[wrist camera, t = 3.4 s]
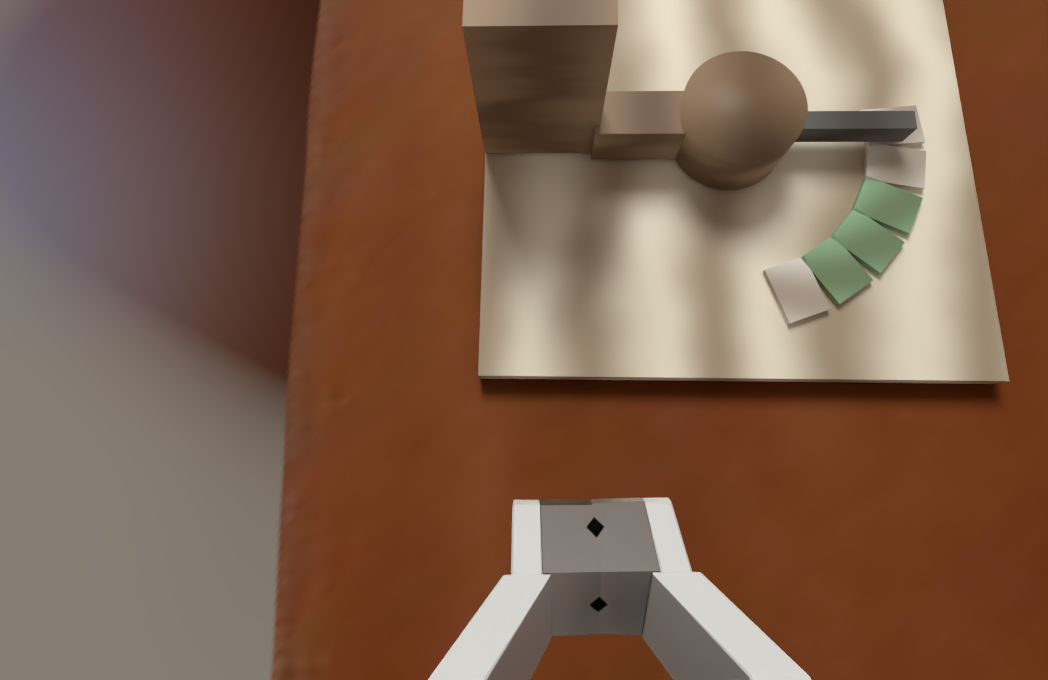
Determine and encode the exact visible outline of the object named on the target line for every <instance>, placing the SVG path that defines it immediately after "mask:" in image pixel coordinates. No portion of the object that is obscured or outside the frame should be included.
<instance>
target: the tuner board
mask: <svg viewBox="0 0 1048 680" xmlns="http://www.w3.org/2000/svg"><path fill="white" fill-rule="evenodd" d="M734 51H749V52H756V53H760V54H763V55H766V56H769V57H771V58H773V59H775V60H777V61H779V62H780V63H782V64H783V65H785V66H786V67H787V68H788V69H789V70H791V71H792V73H793V74H794V75H795V76H796V77H797V79H798V80H799V81H800V83H801V85H802V87H803V89H804V91H805V94H806V98H807V103H808V111H915V116H916V123H917V129H916V130H915V131H914V132H913V133H912V134H910V135H909V136H908V137H907V138H906V139H905V140H904V141H903V142H794V143H793V145H792V146H791V147H790V148H789V150H788V151H787V152H786V154H785V155H784V156H783V157H782V159H781V160H780V161H779V162H778V164H777V165H776V166H775V167H774V169H773V170H772V171H771V172H770V173H769V174H768V175H767V176H766V177H765V178H764V179H763V180H761V181H759V182H758V183H756V184H754V185H752V186H749V187H746V188H742V189H737V190H720V189H715V188H711V187H708V186H705V185H703V184H701V183H699V182H697V181H695V180H694V179H692V178H691V177H690V176H688V175H687V174H686V173H685V172H684V171H683V170H682V169H681V168H680V166H679V165H678V164H677V162H676V160H675V159H591V153H486V156H485V187H484V217H483V247H482V278H481V308H480V338H479V368H478V376H479V377H480V379H573V380H668V381H762V382H856V383H951V384H995V383H1001V382H1007V381H1009V377H1008V371H1007V366H1006V360H1005V354H1004V348H1003V343H1002V337H1001V331H1000V326H999V320H998V314H997V308H996V303H995V297H994V291H993V286H992V280H991V274H990V268H989V263H988V257H987V251H986V245H985V240H984V234H983V228H982V223H981V217H980V211H979V205H978V200H977V194H976V188H975V182H974V177H973V171H972V165H971V160H970V154H969V148H968V142H967V137H966V131H965V125H964V120H963V114H962V108H961V102H960V97H959V91H958V85H957V79H956V74H955V68H954V62H953V57H952V51H951V45H950V39H949V34H948V28H947V22H946V16H945V11H944V5H943V0H618V29H617V35H616V40H615V46H614V51H613V57H612V63H611V68H610V74H609V80H608V85H607V91H684V90H685V87H686V85H687V82H688V80H689V79H690V77H691V75H692V74H693V73H694V71H695V70H696V69H697V68H698V67H699V66H700V65H702V64H703V63H704V62H706V61H707V60H709V59H711V58H713V57H715V56H717V55H720V54H723V53H728V52H734Z"/></svg>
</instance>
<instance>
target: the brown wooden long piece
mask: <svg viewBox="0 0 1048 680" xmlns="http://www.w3.org/2000/svg"><path fill="white" fill-rule="evenodd" d="M462 27H463V33H464V38H465V44H466V50H467V55H468V61H469V66H470V72H471V78H472V83H473V89H474V94H475V100H476V106H477V111H478V117H479V122H480V128H481V134H482V139H483V145H484V150H485V153H591V159H675V160H676V162H677V164H678V165H679V166H680V168H681V169H682V170H683V171H684V172H685V173H686V174H687V175H688V176H690V177H691V178H692V179H694V180H695V181H697V182H699V183H701V184H703V185H705V186H708V187H711V188H715V189H720V190H737V189H742V188H746V187H749V186H752V185H754V184H756V183H758V182H759V181H761V180H763V179H764V178H765V177H766V176H767V175H768V174H769V173H770V172H771V171H772V170H773V169H774V167H775V166H776V165H777V164H778V162H779V161H780V160H781V159H782V157H783V156H784V155H785V154H786V152H787V151H788V150H789V148H790V147H791V146H792V145H793V143H794V142H903V141H904V140H905V139H906V138H907V137H908V136H909V135H910V134H912V133H913V132H914V131H915V130H916V129H917V123H916V116H915V111H808V103H807V98H806V94H805V91H804V89H803V87H802V85H801V83H800V81H799V80H798V79H797V77H796V76H795V75H794V74H793V73H792V71H791V70H789V69H788V68H787V67H786V66H785V65H783V64H782V63H780V62H779V61H777V60H775V59H773V58H771V57H769V56H766V55H763V54H760V53H756V52H749V51H734V52H728V53H723V54H720V55H717V56H715V57H713V58H711V59H709V60H707V61H706V62H704V63H703V64H702V65H700V66H699V67H698V68H697V69H696V70H695V71H694V73H693V74H692V75H691V77H690V79H689V80H688V82H687V85H686V87H685V90H684V91H607V85H608V80H609V74H610V68H611V63H612V57H613V51H614V46H615V40H616V35H617V29H618V0H464V1H463V23H462Z"/></svg>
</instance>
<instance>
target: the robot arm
mask: <svg viewBox="0 0 1048 680" xmlns="http://www.w3.org/2000/svg"><path fill="white" fill-rule="evenodd" d="M584 634H634V635H643V636H642V637H643V639H644V640H645V641H646V643H647V644H648V645H649V647H650V648H651V650H652V651H653V652H654V654H655V655H656V656H657V658H658V659H659V660H660V662H661V663H662V665H663V666H664V667H665V669H666V670H667V671H668V673H669V674H670V676H671V677H672V678H673V680H811V678H810V676H809V675H807V674H806V673H805V672H804V671H803V670H802V669H801V668H800V667H799V666H798V665H797V664H796V663H795V662H794V661H793V660H792V659H791V658H790V657H789V656H788V655H787V654H786V653H784V652H783V651H782V650H781V649H780V648H779V647H778V646H777V645H776V644H775V643H774V642H773V641H772V640H771V639H770V638H769V637H768V636H767V635H766V634H765V633H764V632H763V631H761V630H760V629H759V628H758V627H757V626H756V625H755V624H754V623H753V622H752V621H751V620H750V619H749V618H748V617H747V616H746V615H745V614H744V613H743V612H742V611H741V610H740V609H738V608H737V607H736V606H735V605H734V604H733V603H732V602H731V601H730V600H729V599H728V598H727V597H726V596H725V595H724V594H723V593H722V592H721V591H720V590H719V589H718V588H717V587H715V586H714V585H713V584H712V583H711V582H710V581H709V580H708V579H707V578H706V577H705V576H704V575H703V574H702V573H701V572H692V569H691V566H690V563H689V559H688V556H687V552H686V549H685V546H684V542H683V539H682V536H681V532H680V529H679V526H678V522H677V519H676V515H675V512H674V509H673V505H672V502H671V501H670V499H669V498H642V499H641V498H614V499H590V500H540V502H539V500H514V501H513V507H512V556H511V575H503V576H502V578H501V579H500V580H499V582H498V583H497V585H496V586H495V587H494V589H493V590H492V592H491V593H490V594H489V596H488V597H487V598H486V600H485V601H484V603H483V604H482V605H481V607H480V608H479V610H478V611H477V612H476V614H475V615H474V617H473V618H472V619H471V621H470V622H469V623H468V625H467V626H466V628H465V629H464V630H463V632H462V633H461V635H460V636H459V637H458V639H457V640H456V641H455V643H454V644H453V646H452V647H451V648H450V650H449V651H448V653H447V654H446V655H445V657H444V658H443V660H442V661H441V662H440V664H439V665H438V666H437V668H436V669H435V671H434V672H433V673H432V675H431V676H430V678H429V679H428V680H530V679H531V677H532V675H533V673H534V671H535V669H536V667H537V665H538V663H539V661H540V659H541V657H542V656H543V654H544V652H545V650H546V648H547V646H548V644H549V642H550V640H551V636H560V635H584Z"/></svg>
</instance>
